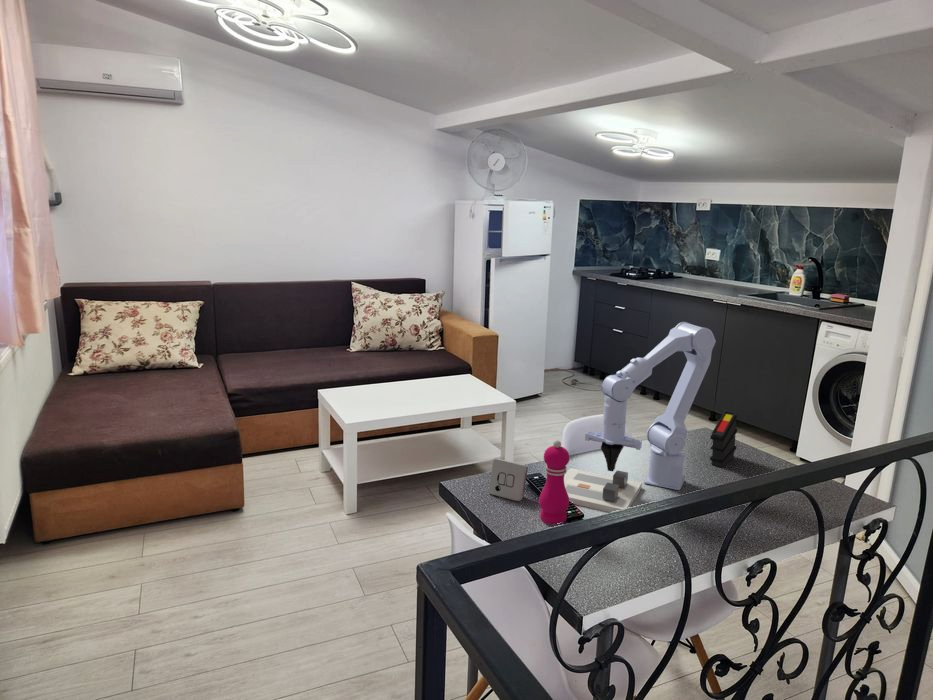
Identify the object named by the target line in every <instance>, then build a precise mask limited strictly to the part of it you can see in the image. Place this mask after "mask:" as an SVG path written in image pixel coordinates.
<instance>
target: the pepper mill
mask: <svg viewBox="0 0 933 700" xmlns="http://www.w3.org/2000/svg"><path fill="white" fill-rule="evenodd" d="M552 444H553V445H551V446H549V447H547V448H546V450H545V451H544V452H543V460H544V463H545V465H544V466H545V468H544V469H545V470H544V472H545V473H546V480H545V484H544V486H543V488H542V490H541V491H540V495H539V498H538V504H539V506H540V508H541V510H540V513H539V514H540V516H539V517H540V520H541V521H542V522H543V523H545V524H548V525H553V524H557V523H560V522H564V521H565V522H566V521H567V517H568V516H567V510H568V509H569V507H570V503H569V497H568V494H567V491H566V488H565V485H564V474H566V472H567V469H568V468H567V465H568V464H569V462H570V453H569V451H568V450H567V449H566V448H565V447H564V446H562V443H561V441H560V440H554V442H553V443H552ZM565 522H564V523H565ZM561 524H563V523H560V524H559V525H561ZM557 525H558V524H557Z"/></svg>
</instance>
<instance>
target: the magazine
mask: <svg viewBox="0 0 933 700" xmlns="http://www.w3.org/2000/svg"><path fill="white" fill-rule="evenodd" d="M737 418H738V414H736V412H735V411H730V410H724V411H723V413H722V415H721V416H720V418H719V420H718V421H717V423H716V425H715V427H714V429H713V430H712V432H711V435H710V436H709V437H710V440H712V445H711V447H710V450H711V451H712V455H711V457H709V460H710V461H711V465H712V466H716V467H719V468H722V467H724V466H725V465H726V464H727V463H728V462H730V460H732V459H733V458H734V457H735V456H734V455H735V451H736V450H737V445H736V434H737V433H738V428H737V427H736V422H737V421H736V420H737Z"/></svg>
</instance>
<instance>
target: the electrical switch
mask: <svg viewBox="0 0 933 700" xmlns="http://www.w3.org/2000/svg"><path fill="white" fill-rule="evenodd" d="M528 469H529V468H528V466H527V465H525V464H523V463H522V464H521V463H518V462H513V461H510V460H509V461H508V460H504V459H501V458H495V459H493V460H492V466H491V473H490V477H489V484H488V494H489V495H493V496H497V497H500V498H504V499H509V500H512V501H516V502H521V501H522V500H523V497H524V496H525V489H526V482H527V476H528ZM522 496H523V497H522Z"/></svg>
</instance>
